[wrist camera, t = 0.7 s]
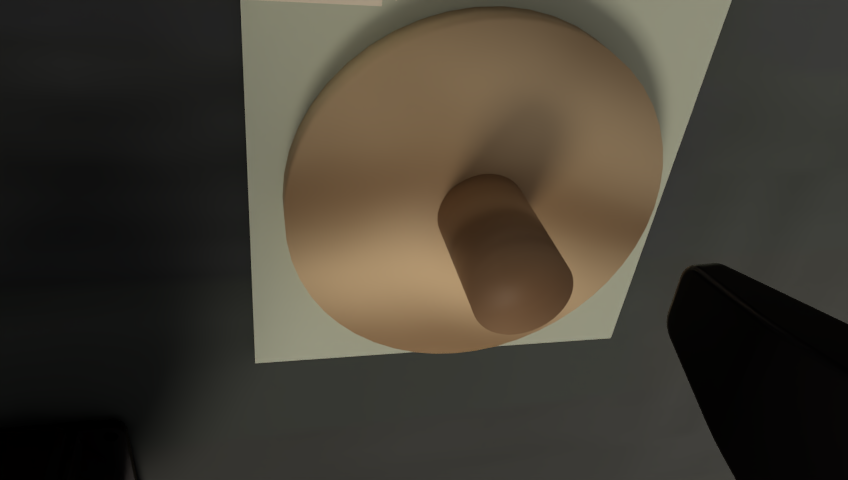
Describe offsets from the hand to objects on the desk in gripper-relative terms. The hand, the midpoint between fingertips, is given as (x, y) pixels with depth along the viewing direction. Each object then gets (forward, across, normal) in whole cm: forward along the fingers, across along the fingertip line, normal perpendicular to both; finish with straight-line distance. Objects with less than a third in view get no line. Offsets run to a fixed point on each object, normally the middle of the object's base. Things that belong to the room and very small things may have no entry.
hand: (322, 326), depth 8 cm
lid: (+12, -6, +6) cm, 15 cm away
